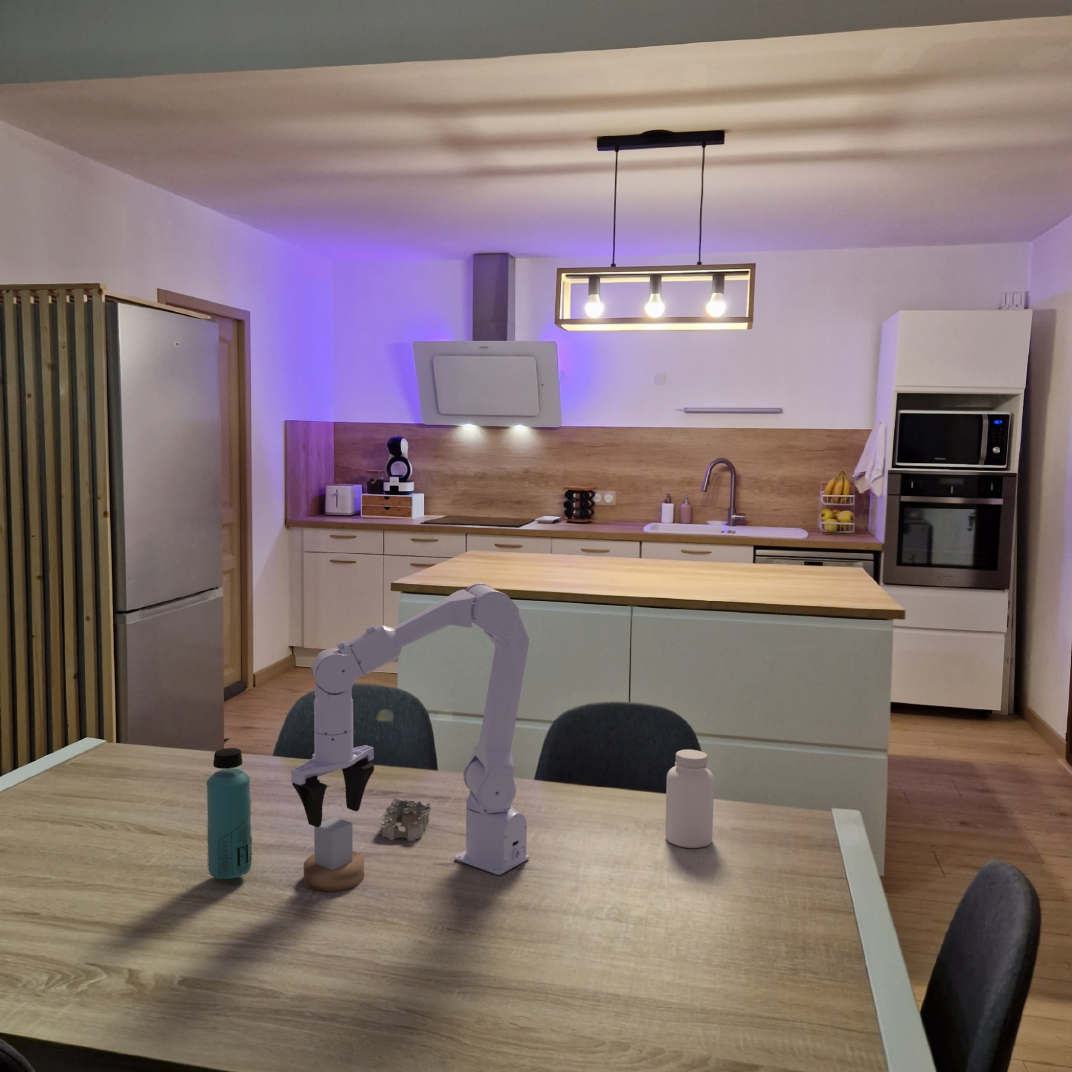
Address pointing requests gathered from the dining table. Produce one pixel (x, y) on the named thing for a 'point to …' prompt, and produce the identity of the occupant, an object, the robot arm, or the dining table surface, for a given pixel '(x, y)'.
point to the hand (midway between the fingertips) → (334, 817)
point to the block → (333, 843)
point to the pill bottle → (689, 801)
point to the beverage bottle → (229, 817)
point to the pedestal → (333, 874)
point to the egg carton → (405, 819)
